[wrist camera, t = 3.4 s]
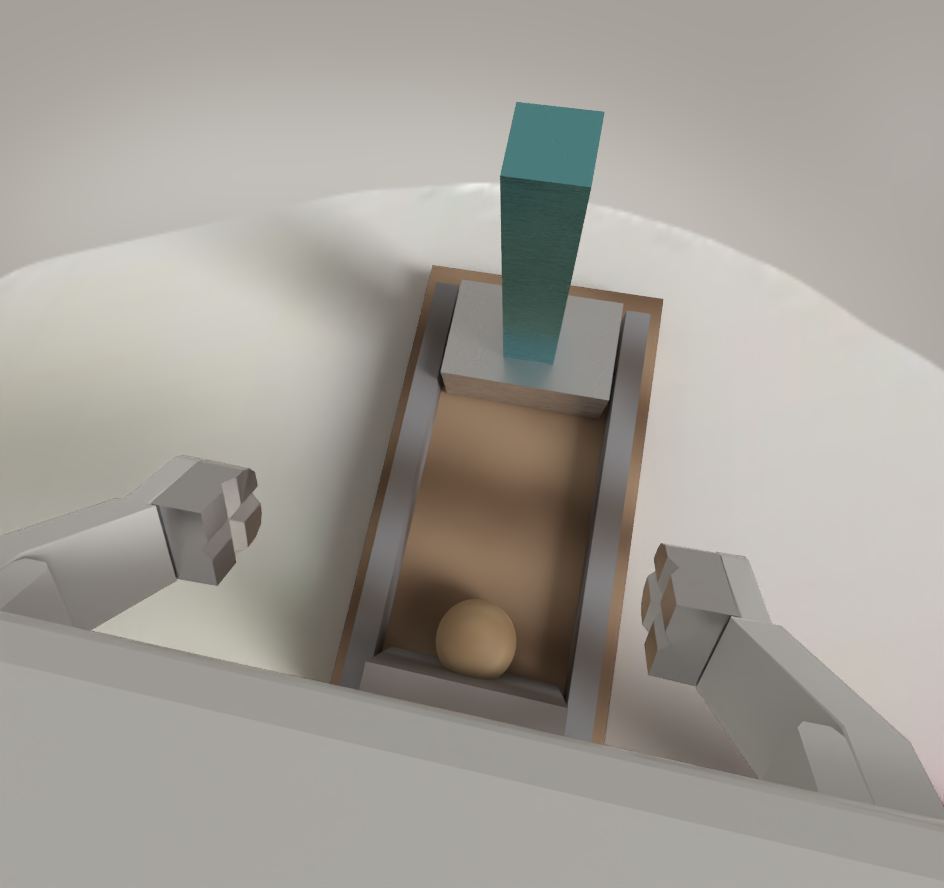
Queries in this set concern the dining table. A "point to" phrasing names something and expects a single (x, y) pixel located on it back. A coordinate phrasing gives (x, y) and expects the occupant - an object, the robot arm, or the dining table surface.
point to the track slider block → (538, 279)
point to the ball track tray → (501, 539)
